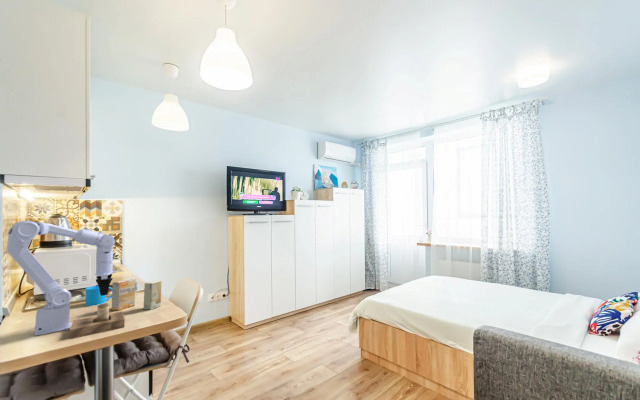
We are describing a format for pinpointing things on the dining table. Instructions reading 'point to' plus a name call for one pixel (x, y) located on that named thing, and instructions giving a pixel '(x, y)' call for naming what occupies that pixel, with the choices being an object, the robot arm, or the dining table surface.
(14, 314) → the dining table surface
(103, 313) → the pin
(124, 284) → the supplement box
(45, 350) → the dining table surface
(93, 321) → the socket board
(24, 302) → the dining table surface
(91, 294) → the mug
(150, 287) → the skincare box
